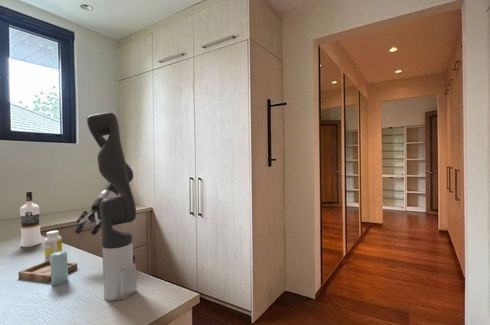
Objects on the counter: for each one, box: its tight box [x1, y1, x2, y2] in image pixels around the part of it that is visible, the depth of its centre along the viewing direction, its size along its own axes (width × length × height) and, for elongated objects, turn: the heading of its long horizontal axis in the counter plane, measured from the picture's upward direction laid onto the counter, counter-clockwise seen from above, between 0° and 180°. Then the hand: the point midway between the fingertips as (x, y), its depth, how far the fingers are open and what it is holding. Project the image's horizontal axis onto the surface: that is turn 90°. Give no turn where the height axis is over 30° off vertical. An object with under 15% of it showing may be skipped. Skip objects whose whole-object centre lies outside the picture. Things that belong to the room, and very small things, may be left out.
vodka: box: [19, 190, 43, 248], centre depth 143 cm, size 9×9×30 cm
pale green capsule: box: [50, 250, 69, 287], centre depth 98 cm, size 5×5×11 cm
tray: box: [18, 260, 78, 283], centre depth 106 cm, size 16×12×2 cm
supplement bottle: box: [43, 230, 63, 261], centre depth 122 cm, size 7×7×13 cm
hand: (84, 233), depth 108 cm, fingers open, 8 cm apart
